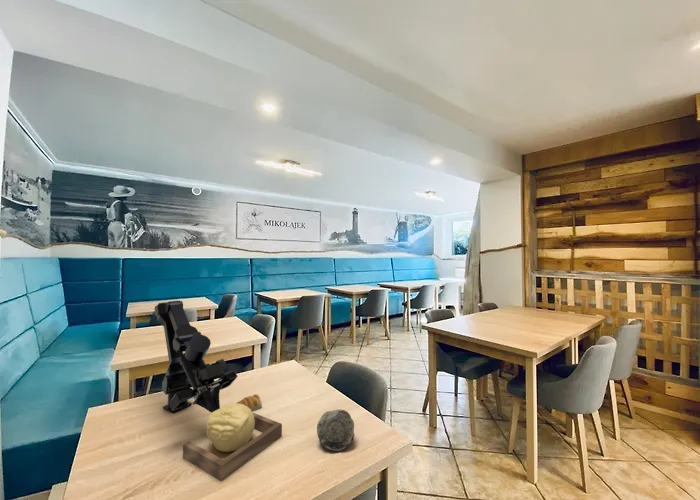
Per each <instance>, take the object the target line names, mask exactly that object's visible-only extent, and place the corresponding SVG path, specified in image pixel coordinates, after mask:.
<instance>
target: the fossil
mask: <svg viewBox="0 0 700 500" xmlns="http://www.w3.org/2000/svg"><path fill="white" fill-rule="evenodd" d="M316 425H317V426H316V434H317V437H318V441H319V442H320V443H321V445H322V447H323V448H324V449H326V450H328V451H330V452H335V453H338V452H342V451H345V450H346V449H348V447H350V445H351V444H352V442H353V441H354V438H355V423H354V419H353V418H352V416H351V414H350V413H349V412H348V411H347V410H346V409H334V410H329V411H325V412H323V414H322V415H321V417H320V418H319V420H318V423H317V424H316Z"/></svg>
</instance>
